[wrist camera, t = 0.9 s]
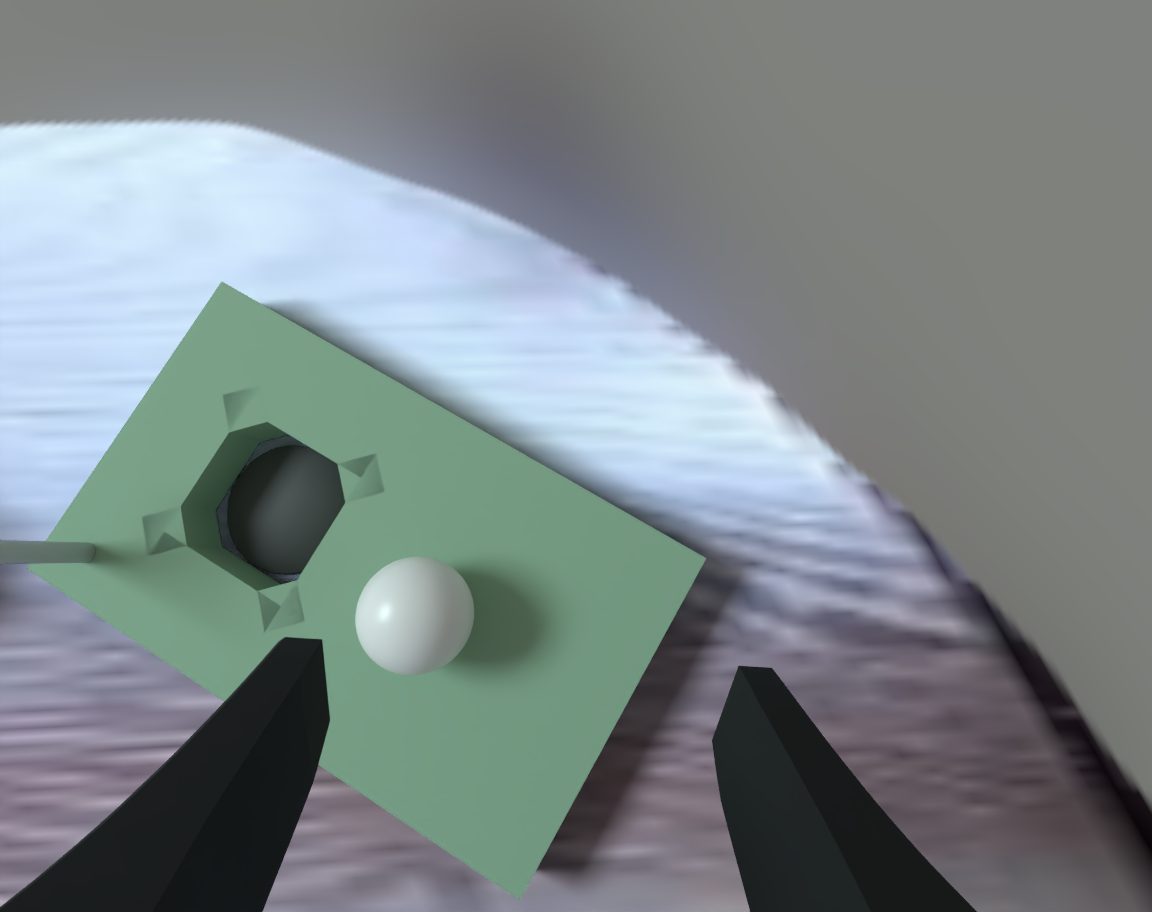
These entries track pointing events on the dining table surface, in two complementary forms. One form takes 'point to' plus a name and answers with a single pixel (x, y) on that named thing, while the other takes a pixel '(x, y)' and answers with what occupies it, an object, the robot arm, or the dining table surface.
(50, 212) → the dining table surface
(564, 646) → the putting mat
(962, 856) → the dining table surface
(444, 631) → the golf ball
